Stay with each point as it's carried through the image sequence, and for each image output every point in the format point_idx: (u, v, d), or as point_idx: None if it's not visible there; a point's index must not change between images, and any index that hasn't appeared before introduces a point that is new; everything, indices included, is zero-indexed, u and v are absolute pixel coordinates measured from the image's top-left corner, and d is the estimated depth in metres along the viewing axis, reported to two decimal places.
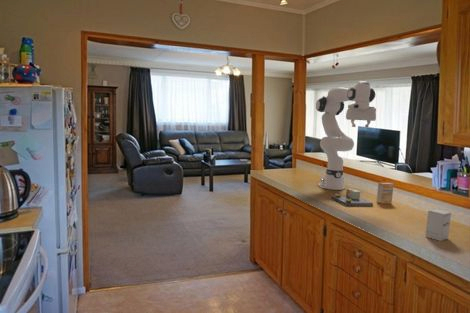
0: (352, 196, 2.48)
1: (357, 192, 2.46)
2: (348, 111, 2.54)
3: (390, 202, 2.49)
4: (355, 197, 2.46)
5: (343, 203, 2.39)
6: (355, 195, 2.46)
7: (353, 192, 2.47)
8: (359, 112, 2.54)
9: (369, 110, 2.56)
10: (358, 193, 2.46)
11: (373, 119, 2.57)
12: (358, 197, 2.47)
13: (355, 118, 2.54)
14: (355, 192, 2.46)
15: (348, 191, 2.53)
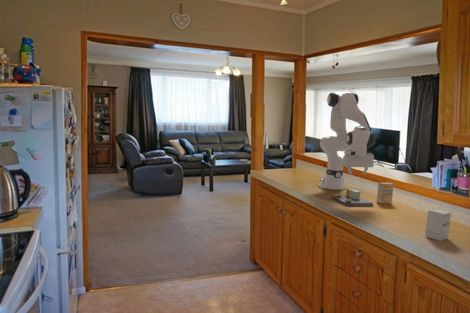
0: (352, 196, 2.48)
1: (357, 192, 2.46)
2: (344, 158, 2.43)
3: (390, 202, 2.49)
4: (355, 197, 2.46)
5: (343, 203, 2.39)
6: (355, 195, 2.46)
7: (353, 192, 2.47)
8: (356, 159, 2.43)
9: (366, 156, 2.45)
10: (358, 193, 2.46)
11: (371, 166, 2.46)
12: (358, 197, 2.47)
13: (352, 165, 2.43)
14: (355, 192, 2.46)
15: (348, 191, 2.53)
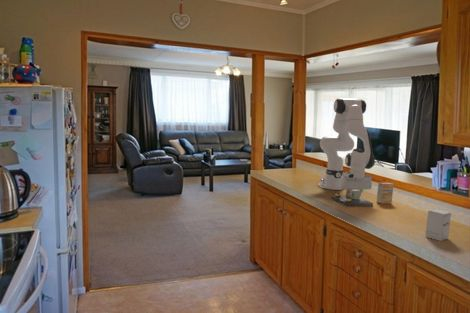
0: (352, 196, 2.48)
1: (357, 192, 2.46)
2: (343, 180, 2.45)
3: (390, 202, 2.49)
4: (355, 197, 2.46)
5: (343, 203, 2.39)
6: (355, 195, 2.46)
7: (353, 192, 2.47)
8: (354, 181, 2.45)
9: (364, 179, 2.46)
10: (358, 193, 2.46)
11: (369, 188, 2.48)
12: (358, 197, 2.47)
13: (350, 187, 2.45)
14: (355, 192, 2.46)
15: (348, 191, 2.53)
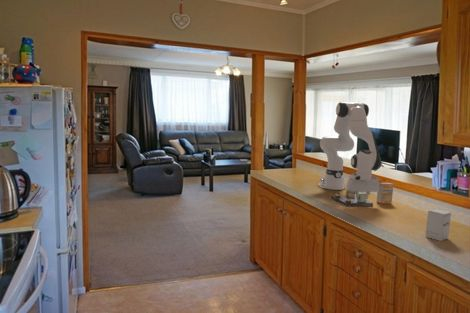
0: (359, 199, 2.40)
1: (364, 195, 2.38)
2: (349, 182, 2.37)
3: (390, 202, 2.49)
4: (362, 200, 2.38)
5: (343, 203, 2.39)
6: (362, 198, 2.38)
7: (360, 195, 2.39)
8: (361, 183, 2.37)
9: (371, 181, 2.39)
10: (365, 196, 2.38)
11: (376, 190, 2.40)
12: (365, 200, 2.39)
13: (356, 190, 2.37)
14: (362, 195, 2.38)
15: (348, 191, 2.53)
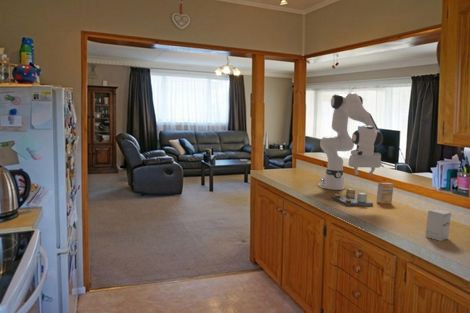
0: (359, 199, 2.40)
1: (364, 195, 2.38)
2: (351, 158, 2.35)
3: (390, 202, 2.49)
4: (362, 200, 2.38)
5: (343, 203, 2.39)
6: (362, 198, 2.38)
7: (360, 195, 2.39)
8: (363, 159, 2.36)
9: (374, 156, 2.37)
10: (365, 196, 2.38)
11: (378, 166, 2.38)
12: (365, 200, 2.39)
13: (358, 165, 2.35)
14: (362, 195, 2.38)
15: (348, 191, 2.53)
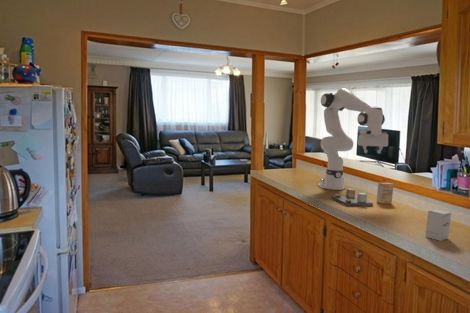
0: (359, 199, 2.40)
1: (364, 195, 2.38)
2: (360, 137, 2.50)
3: (390, 202, 2.49)
4: (362, 200, 2.38)
5: (343, 203, 2.39)
6: (362, 198, 2.38)
7: (360, 195, 2.39)
8: (371, 138, 2.51)
9: (381, 136, 2.52)
10: (365, 196, 2.38)
11: (385, 145, 2.53)
12: (365, 200, 2.39)
13: (367, 144, 2.50)
14: (362, 195, 2.38)
15: (348, 191, 2.53)
